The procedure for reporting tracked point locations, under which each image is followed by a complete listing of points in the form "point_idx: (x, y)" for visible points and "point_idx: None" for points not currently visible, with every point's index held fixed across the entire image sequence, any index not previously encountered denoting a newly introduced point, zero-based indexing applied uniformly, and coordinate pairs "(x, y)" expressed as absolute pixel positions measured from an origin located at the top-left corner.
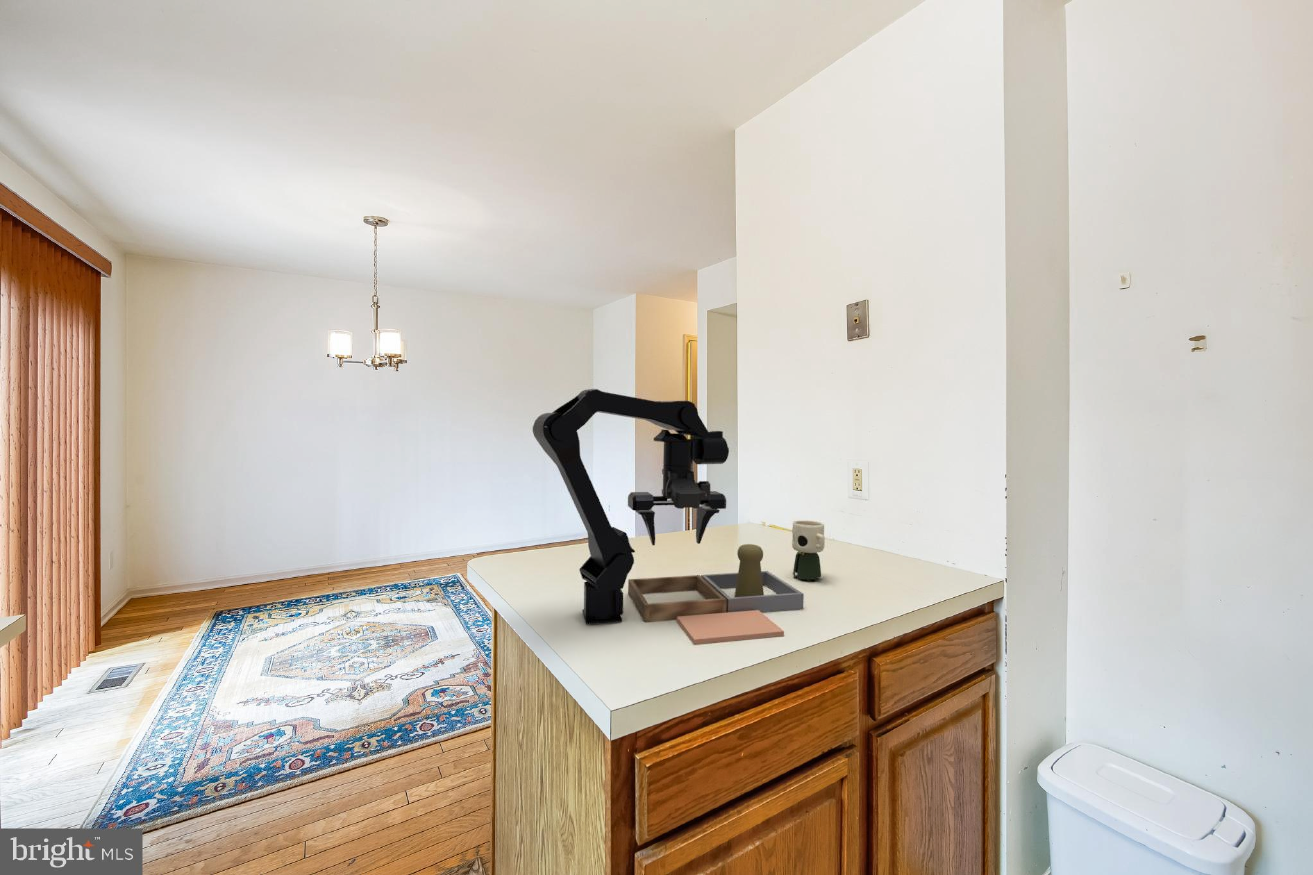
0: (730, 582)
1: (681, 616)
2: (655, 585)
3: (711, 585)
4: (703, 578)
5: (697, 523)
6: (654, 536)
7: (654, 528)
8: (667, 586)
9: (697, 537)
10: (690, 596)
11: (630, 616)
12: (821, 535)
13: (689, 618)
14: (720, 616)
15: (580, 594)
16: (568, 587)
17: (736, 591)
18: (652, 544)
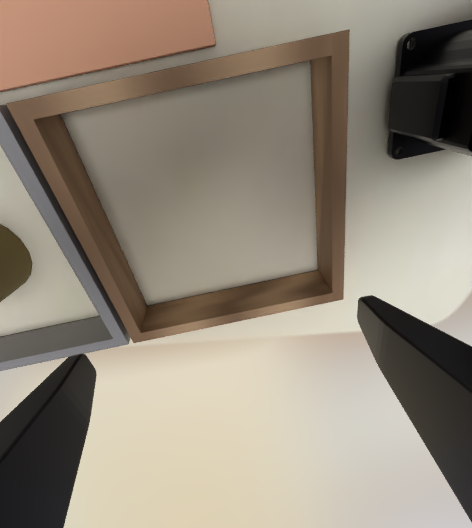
0: (47, 336)
1: (198, 44)
2: (262, 295)
3: (90, 269)
4: (121, 325)
5: (47, 521)
6: (399, 328)
7: (453, 373)
8: (227, 298)
9: (77, 393)
10: (164, 264)
11: (357, 99)
12: None
13: (168, 18)
14: (45, 38)
15: (441, 266)
16: (452, 306)
17: (11, 261)
18: (373, 301)
